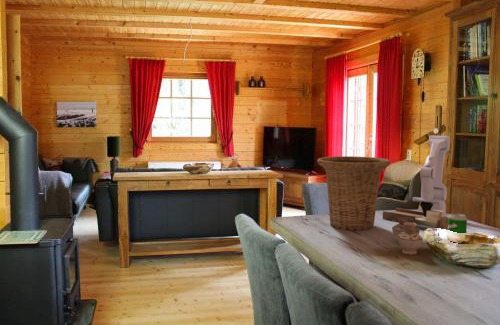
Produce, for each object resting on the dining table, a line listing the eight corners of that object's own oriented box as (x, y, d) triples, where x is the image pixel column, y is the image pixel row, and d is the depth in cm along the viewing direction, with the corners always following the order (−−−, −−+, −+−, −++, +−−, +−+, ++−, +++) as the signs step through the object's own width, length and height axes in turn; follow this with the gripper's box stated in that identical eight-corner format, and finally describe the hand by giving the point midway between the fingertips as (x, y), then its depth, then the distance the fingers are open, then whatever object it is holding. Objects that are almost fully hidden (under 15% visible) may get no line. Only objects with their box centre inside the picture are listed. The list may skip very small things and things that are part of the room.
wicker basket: (312, 231, 225) (313, 161, 221) (319, 216, 258) (320, 155, 255) (389, 236, 216) (392, 163, 213) (386, 219, 250) (388, 157, 247)
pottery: (396, 255, 187) (397, 225, 186) (390, 239, 211) (391, 212, 210) (426, 257, 185) (427, 227, 184) (417, 240, 209) (418, 213, 208)
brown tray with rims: (397, 214, 263) (397, 206, 262) (454, 224, 240) (455, 215, 239) (381, 219, 252) (381, 210, 252) (440, 229, 229) (440, 220, 228)
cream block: (431, 218, 243) (432, 209, 242) (443, 220, 238) (443, 211, 238) (426, 219, 239) (426, 211, 238) (437, 221, 234) (438, 212, 234)
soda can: (462, 239, 210) (463, 213, 209) (468, 244, 203) (469, 216, 202) (444, 239, 211) (445, 212, 210) (450, 243, 204) (451, 216, 202)
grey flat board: (435, 218, 254) (435, 215, 254) (457, 222, 245) (457, 219, 245) (407, 226, 234) (407, 223, 234) (430, 231, 225) (430, 228, 225)
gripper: (409, 189, 243) (409, 215, 245) (437, 193, 233) (436, 220, 234) (416, 188, 248) (415, 213, 249) (443, 191, 237) (442, 218, 239)
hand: (426, 216), depth 242 cm, fingers closed
